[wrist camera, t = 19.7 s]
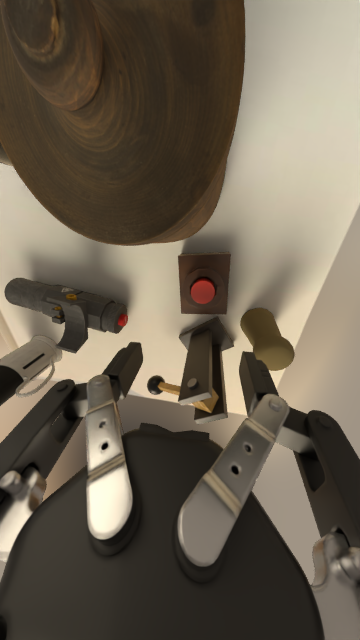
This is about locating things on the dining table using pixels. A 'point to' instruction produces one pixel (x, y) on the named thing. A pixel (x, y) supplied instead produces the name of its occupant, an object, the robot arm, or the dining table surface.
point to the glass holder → (27, 366)
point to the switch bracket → (205, 368)
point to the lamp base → (204, 267)
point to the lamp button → (203, 290)
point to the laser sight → (68, 310)
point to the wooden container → (122, 110)
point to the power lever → (159, 385)
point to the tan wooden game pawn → (267, 339)
